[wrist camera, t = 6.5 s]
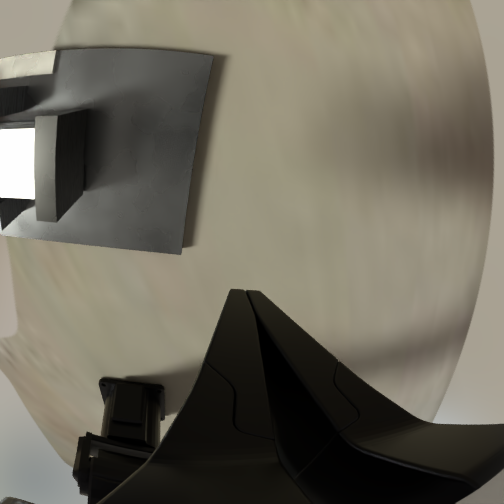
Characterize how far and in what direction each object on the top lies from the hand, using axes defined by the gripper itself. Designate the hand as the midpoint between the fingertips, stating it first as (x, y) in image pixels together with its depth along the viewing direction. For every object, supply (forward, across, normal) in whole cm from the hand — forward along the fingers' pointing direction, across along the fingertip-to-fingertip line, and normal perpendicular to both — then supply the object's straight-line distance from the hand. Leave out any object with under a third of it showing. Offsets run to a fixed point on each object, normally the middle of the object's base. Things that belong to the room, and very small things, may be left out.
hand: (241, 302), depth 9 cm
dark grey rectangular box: (+10, +15, -3) cm, 19 cm away
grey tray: (+11, +14, -2) cm, 18 cm away
